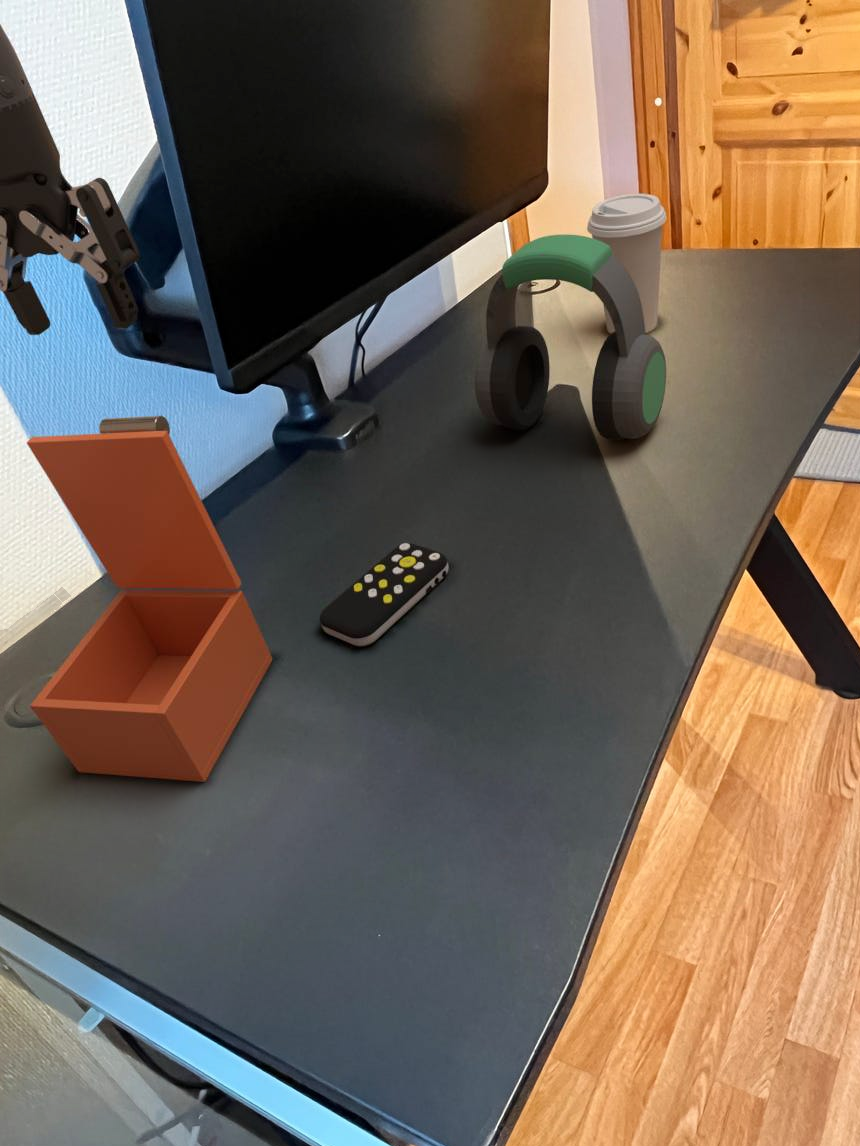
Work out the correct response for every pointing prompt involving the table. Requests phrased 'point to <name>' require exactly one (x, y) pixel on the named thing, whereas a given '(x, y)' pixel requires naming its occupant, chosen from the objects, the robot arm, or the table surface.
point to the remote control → (384, 594)
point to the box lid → (137, 505)
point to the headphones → (520, 356)
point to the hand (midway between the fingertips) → (83, 328)
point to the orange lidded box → (156, 684)
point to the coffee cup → (633, 244)
